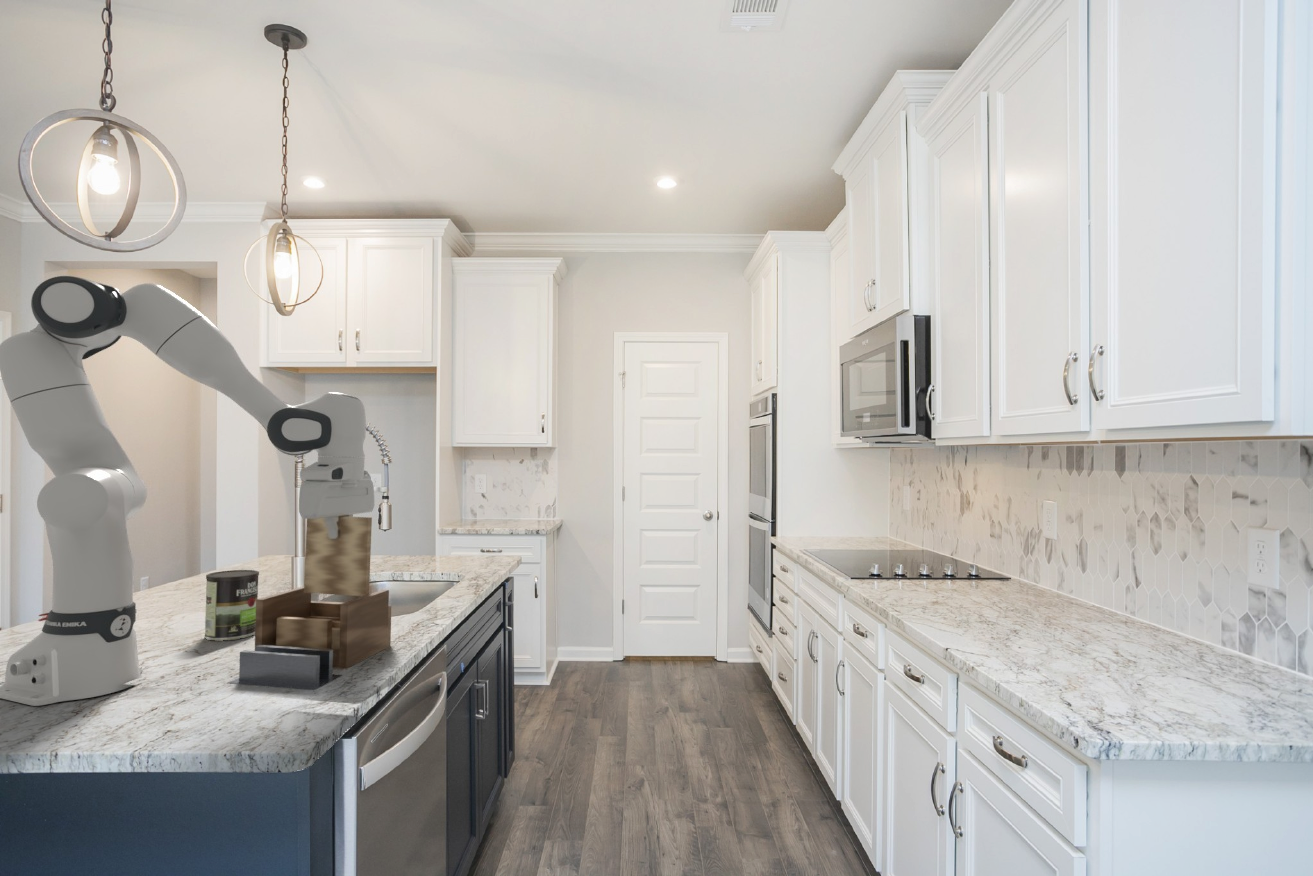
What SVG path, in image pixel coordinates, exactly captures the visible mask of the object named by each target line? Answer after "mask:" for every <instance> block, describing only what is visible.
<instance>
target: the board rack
mask: <svg viewBox="0 0 1313 876" xmlns="http://www.w3.org/2000/svg"><path fill="white" fill-rule="evenodd" d="M389 600H390V590H389V589H380V590H377V591H375V592H372V593H369V594H368V595H366V596H359V597H358V598H355V599H352V600H349V601H346V602H339V601H324V600H322V601H321V600H319V601H311V593H304V585H303V586H300V587H299V586H298V587H296V588H293V589H288V590H286V591H282V592H278V593H274V594H270V595H267V596H264V597H263V596H262V597H260V598H258V599H256V621H255V635H254V647H255V646H257V645H269V646H282V645H276V628H277V618H279V617H299V618H316V619H332V620H334V621H340V648H339V649H328V650H333V668H332V670H346V669H348V668H351V667H352V666H354V665H356V664H358V663H360V662H362V661H365V660H366V659H368V658H371V657H372V656H374V655H376V654H378V653H380V652H382V651H383V650H386V649H388V648H390V647H391V640H392V637H391V635H392V632H391V631H392V604H390V601H389ZM284 647H296V646H284ZM299 648H311V647H299ZM313 649H326V648H313Z"/></svg>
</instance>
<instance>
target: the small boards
mask: <svg viewBox="0 0 1313 876" xmlns="http://www.w3.org/2000/svg"><path fill="white" fill-rule="evenodd" d="M276 645H282V646H296V647H311V648H326V649H339V648H340V621H334V620H332V619H316V618H299V617H279V618H277V628H276Z"/></svg>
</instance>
